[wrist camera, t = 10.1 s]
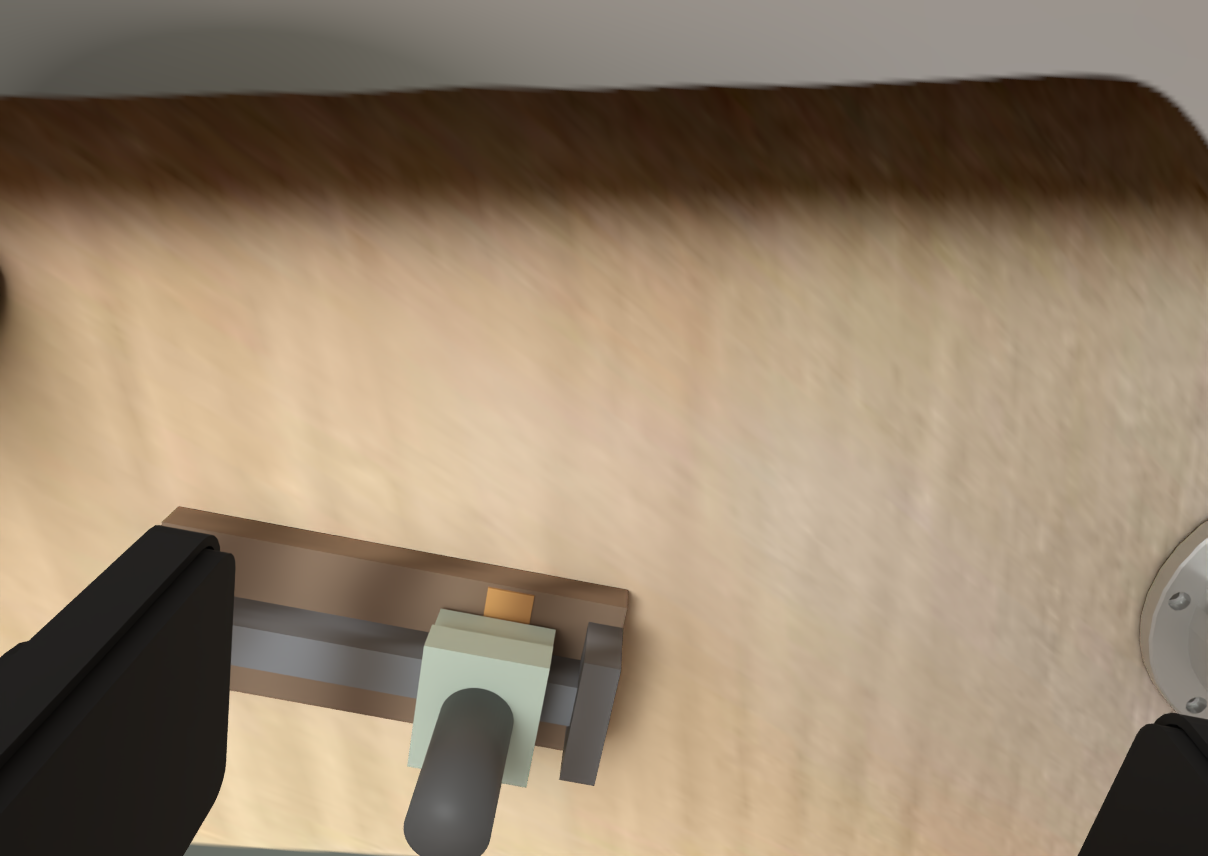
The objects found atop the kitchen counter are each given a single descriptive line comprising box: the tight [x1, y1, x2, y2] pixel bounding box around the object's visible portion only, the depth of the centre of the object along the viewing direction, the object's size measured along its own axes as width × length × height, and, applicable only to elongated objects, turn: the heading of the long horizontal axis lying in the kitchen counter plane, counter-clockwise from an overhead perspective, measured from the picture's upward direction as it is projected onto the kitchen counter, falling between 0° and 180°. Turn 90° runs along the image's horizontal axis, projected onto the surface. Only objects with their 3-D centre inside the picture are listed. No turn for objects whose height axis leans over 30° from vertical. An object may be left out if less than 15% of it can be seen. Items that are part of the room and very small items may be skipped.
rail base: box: [162, 507, 628, 786], centre depth 41 cm, size 20×8×4 cm, turn 79°
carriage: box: [404, 609, 556, 856], centre depth 37 cm, size 5×6×10 cm
